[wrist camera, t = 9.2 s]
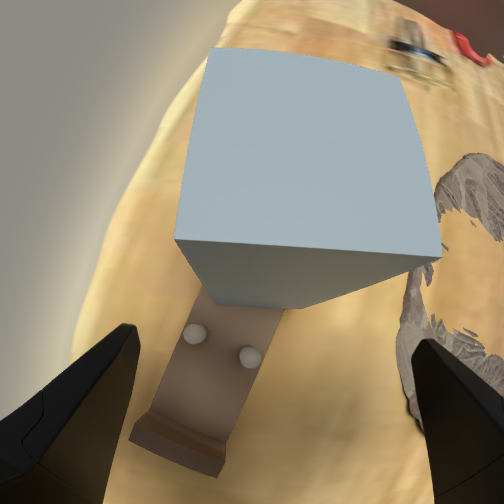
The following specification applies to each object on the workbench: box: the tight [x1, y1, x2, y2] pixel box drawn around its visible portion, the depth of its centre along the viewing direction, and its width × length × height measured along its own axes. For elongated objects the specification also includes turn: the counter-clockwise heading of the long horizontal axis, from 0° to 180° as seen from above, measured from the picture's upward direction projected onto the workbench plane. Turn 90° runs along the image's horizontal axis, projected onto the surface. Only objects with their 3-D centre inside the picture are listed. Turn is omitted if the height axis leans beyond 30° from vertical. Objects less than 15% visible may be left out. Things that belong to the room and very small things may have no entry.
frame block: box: [174, 48, 443, 309], centre depth 12 cm, size 5×5×13 cm
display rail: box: [129, 285, 285, 478], centre depth 17 cm, size 24×5×4 cm, turn 157°
